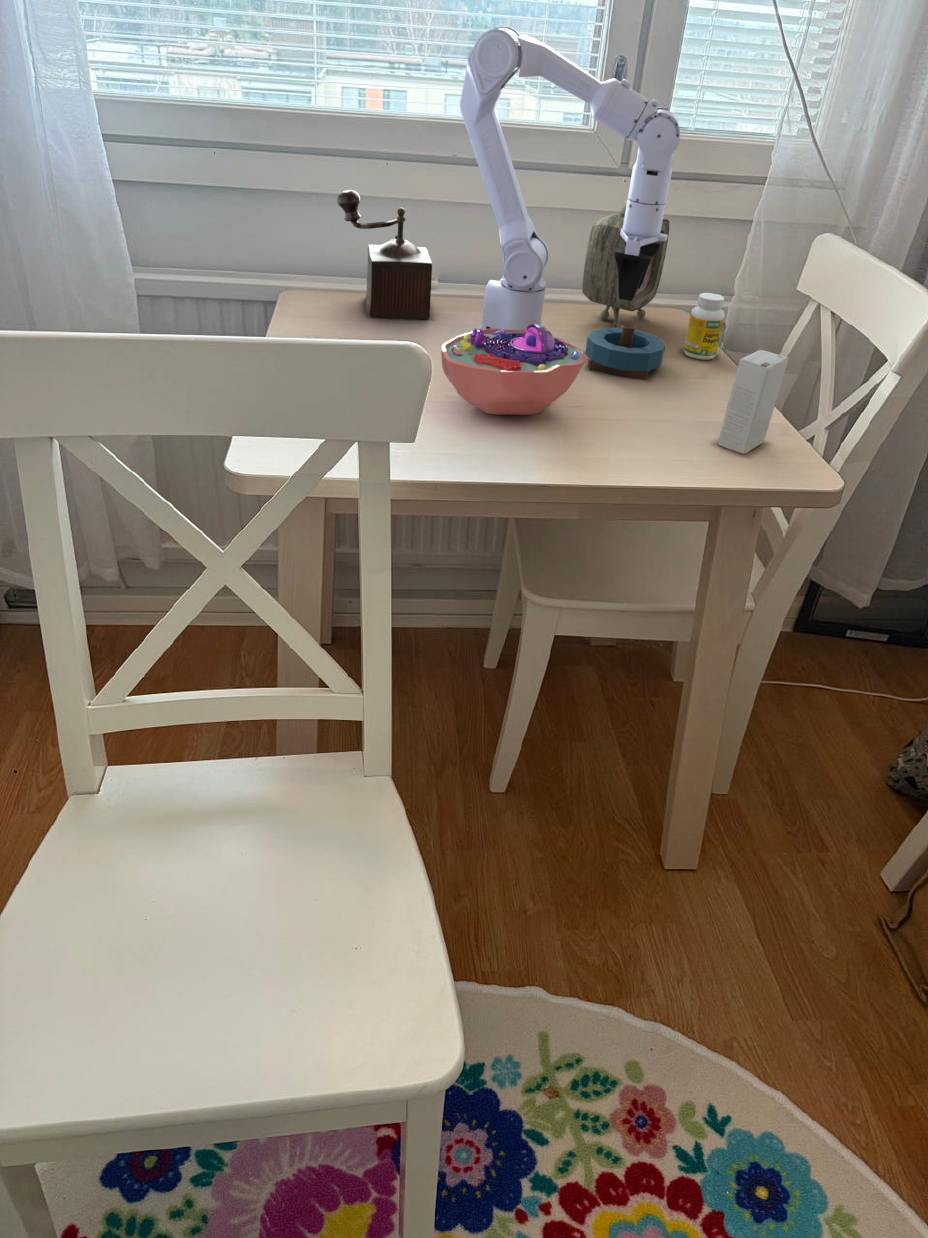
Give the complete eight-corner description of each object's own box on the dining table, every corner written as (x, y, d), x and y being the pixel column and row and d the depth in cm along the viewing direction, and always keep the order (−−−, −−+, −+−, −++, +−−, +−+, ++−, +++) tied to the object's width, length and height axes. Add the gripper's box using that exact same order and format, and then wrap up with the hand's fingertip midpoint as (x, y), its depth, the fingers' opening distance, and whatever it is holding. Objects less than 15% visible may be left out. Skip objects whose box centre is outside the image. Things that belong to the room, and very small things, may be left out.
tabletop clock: (620, 337, 164) (648, 178, 150) (573, 325, 168) (595, 168, 154) (653, 318, 175) (681, 168, 161) (607, 307, 179) (631, 159, 165)
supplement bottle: (699, 347, 163) (712, 289, 158) (722, 357, 160) (736, 299, 155) (676, 351, 161) (688, 292, 155) (699, 362, 157) (712, 302, 152)
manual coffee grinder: (423, 300, 173) (430, 192, 163) (430, 320, 164) (437, 206, 154) (336, 296, 170) (336, 186, 160) (338, 316, 161) (339, 201, 151)
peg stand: (588, 369, 150) (595, 329, 147) (599, 351, 157) (605, 313, 154) (646, 379, 148) (654, 339, 145) (654, 361, 156) (661, 323, 152)
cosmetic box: (736, 433, 134) (758, 347, 127) (766, 444, 131) (790, 356, 125) (715, 445, 130) (737, 356, 123) (745, 456, 127) (769, 367, 121)
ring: (579, 362, 149) (582, 344, 147) (594, 339, 158) (596, 322, 157) (655, 376, 147) (659, 358, 145) (665, 352, 156) (669, 335, 154)
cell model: (418, 389, 137) (422, 309, 131) (544, 381, 144) (554, 304, 138) (462, 438, 125) (470, 352, 118) (598, 426, 132) (613, 344, 125)
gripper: (667, 213, 138) (648, 309, 145) (679, 196, 149) (661, 286, 157) (618, 205, 139) (602, 301, 147) (634, 189, 151) (618, 278, 158)
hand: (629, 293), depth 152 cm, fingers open, 7 cm apart
